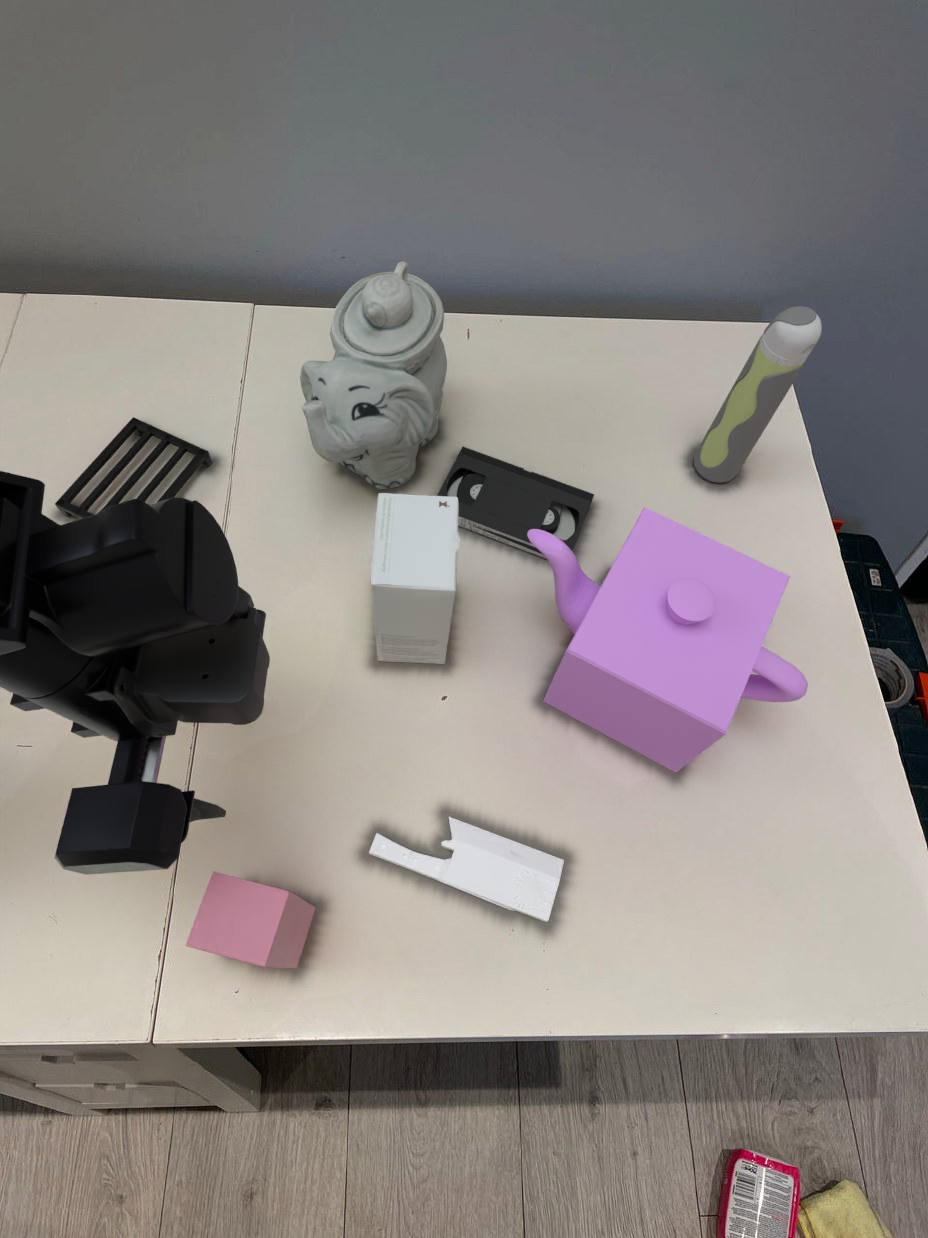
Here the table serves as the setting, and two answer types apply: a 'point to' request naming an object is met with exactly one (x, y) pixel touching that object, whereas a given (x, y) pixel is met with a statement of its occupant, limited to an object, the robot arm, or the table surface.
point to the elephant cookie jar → (379, 378)
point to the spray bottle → (757, 393)
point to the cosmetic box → (414, 576)
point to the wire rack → (110, 450)
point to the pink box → (251, 922)
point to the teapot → (667, 639)
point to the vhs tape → (513, 501)
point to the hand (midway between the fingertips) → (230, 745)
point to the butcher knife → (485, 868)
